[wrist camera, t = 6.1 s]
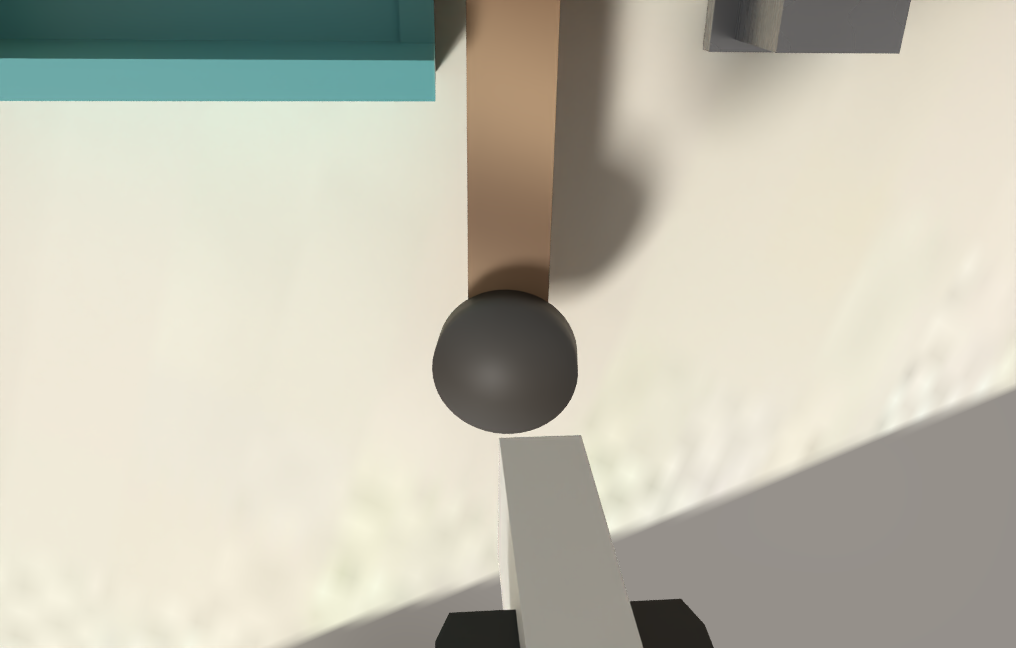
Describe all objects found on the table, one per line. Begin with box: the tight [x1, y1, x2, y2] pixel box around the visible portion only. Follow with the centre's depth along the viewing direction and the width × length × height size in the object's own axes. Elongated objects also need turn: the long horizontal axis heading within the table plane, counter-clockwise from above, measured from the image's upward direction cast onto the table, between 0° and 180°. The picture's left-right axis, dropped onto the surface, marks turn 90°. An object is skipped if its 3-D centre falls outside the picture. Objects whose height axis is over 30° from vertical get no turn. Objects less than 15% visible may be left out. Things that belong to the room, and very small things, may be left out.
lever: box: [432, 0, 578, 434], centre depth 17 cm, size 17×17×4 cm
